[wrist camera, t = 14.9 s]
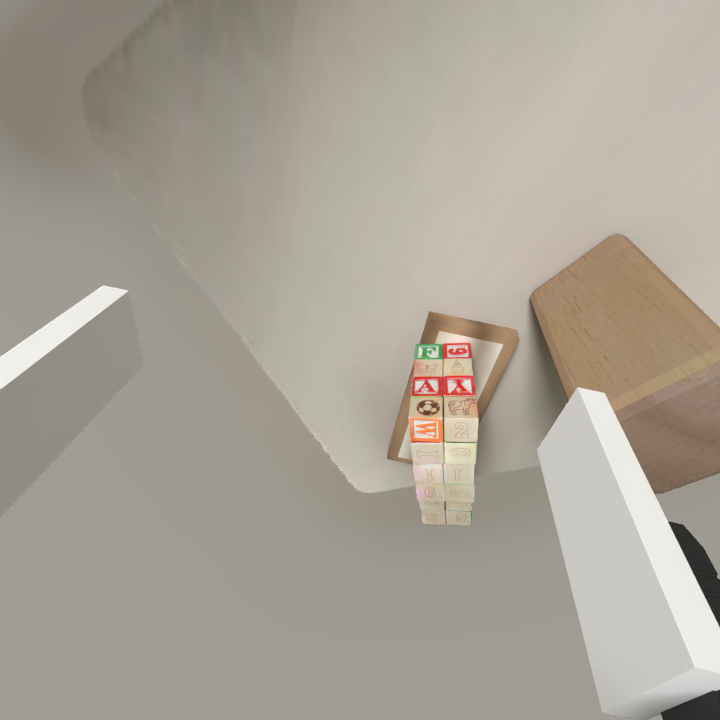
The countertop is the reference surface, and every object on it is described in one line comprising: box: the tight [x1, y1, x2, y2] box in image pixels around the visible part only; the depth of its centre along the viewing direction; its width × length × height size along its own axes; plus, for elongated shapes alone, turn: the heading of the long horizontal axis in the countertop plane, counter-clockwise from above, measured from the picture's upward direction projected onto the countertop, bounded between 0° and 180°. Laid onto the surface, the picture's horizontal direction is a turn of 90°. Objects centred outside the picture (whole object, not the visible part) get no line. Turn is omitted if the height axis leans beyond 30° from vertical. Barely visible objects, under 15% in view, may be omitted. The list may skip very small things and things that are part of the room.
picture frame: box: [387, 311, 519, 464], centre depth 53 cm, size 10×24×2 cm, turn 171°
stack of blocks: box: [408, 343, 479, 526], centre depth 47 cm, size 21×6×12 cm, turn 8°
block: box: [530, 234, 720, 494], centre depth 34 cm, size 10×10×20 cm
